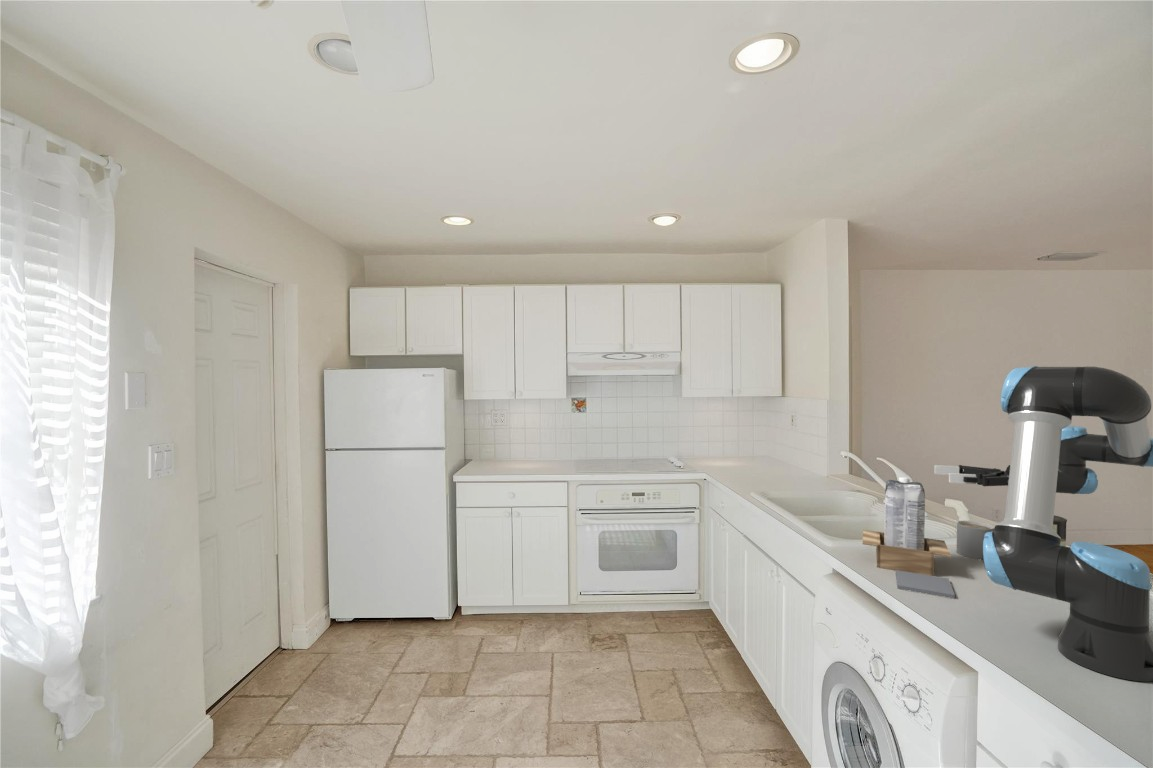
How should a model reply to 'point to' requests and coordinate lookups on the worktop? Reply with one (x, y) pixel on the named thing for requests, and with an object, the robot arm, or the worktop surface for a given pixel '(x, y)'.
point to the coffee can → (1060, 528)
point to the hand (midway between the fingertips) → (941, 473)
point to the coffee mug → (972, 538)
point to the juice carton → (904, 514)
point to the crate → (906, 554)
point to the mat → (924, 583)
